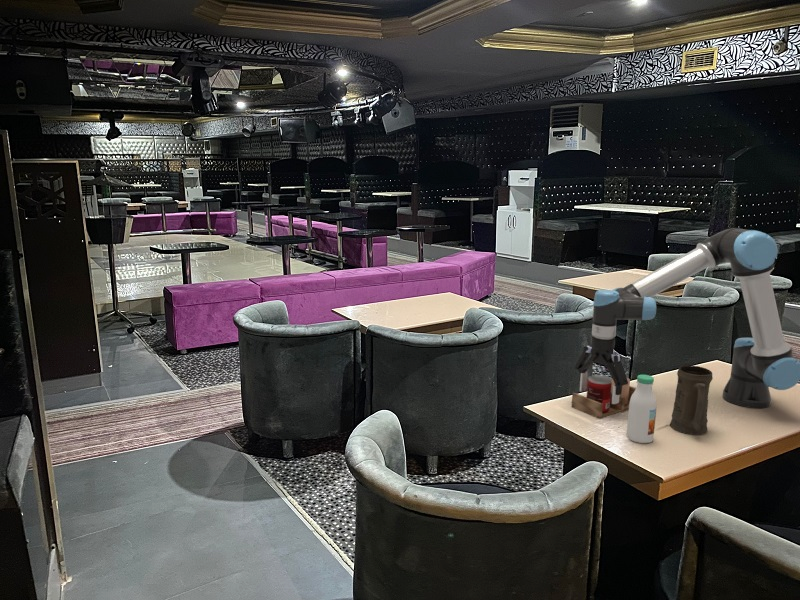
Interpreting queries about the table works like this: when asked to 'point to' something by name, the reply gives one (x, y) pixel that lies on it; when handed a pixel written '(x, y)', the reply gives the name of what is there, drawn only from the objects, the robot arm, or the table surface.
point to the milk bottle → (642, 411)
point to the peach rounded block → (623, 391)
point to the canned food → (600, 390)
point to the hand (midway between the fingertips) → (598, 396)
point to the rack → (600, 405)
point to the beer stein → (691, 400)
